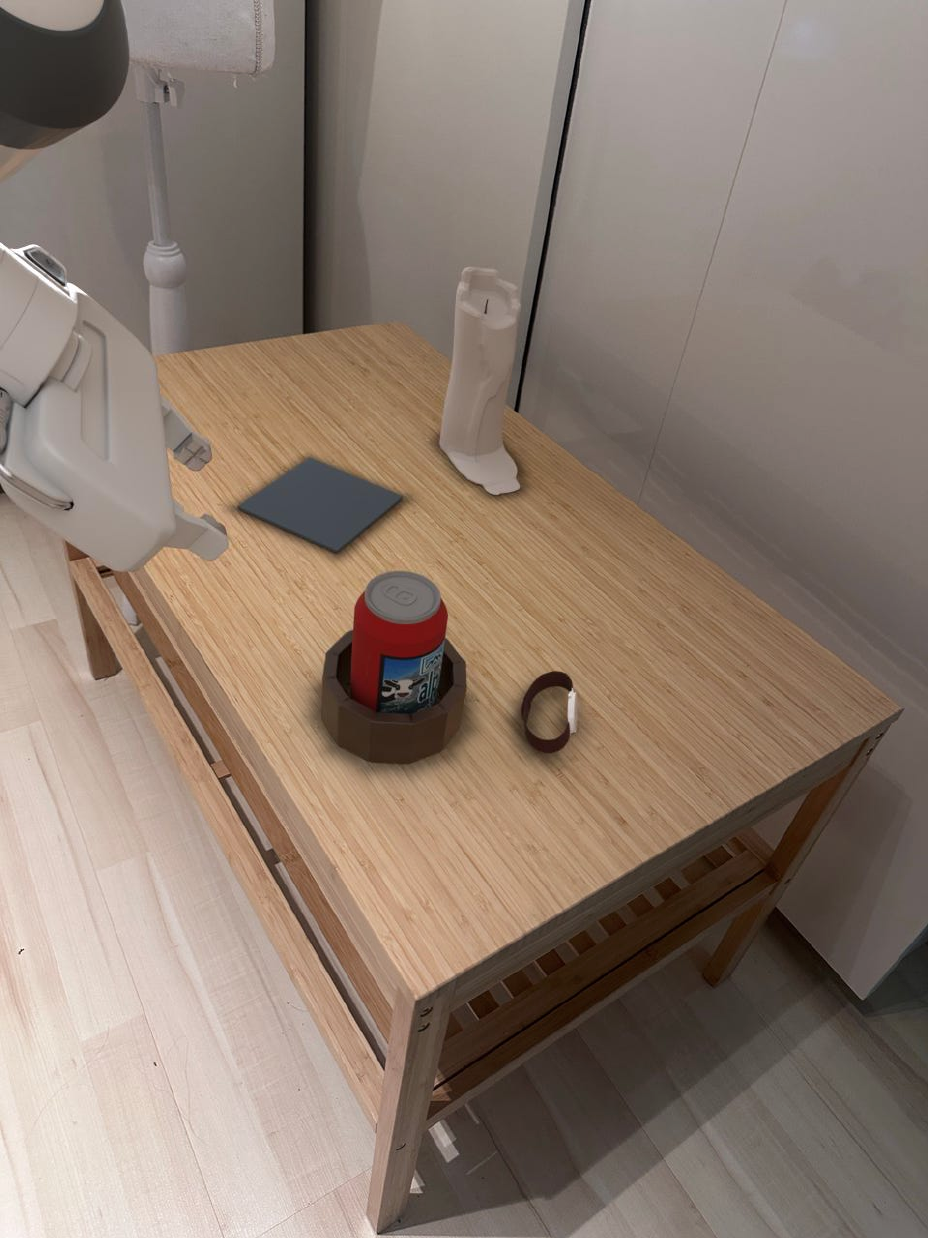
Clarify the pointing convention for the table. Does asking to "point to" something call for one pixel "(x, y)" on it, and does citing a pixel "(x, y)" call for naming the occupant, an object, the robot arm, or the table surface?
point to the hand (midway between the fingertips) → (212, 500)
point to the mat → (321, 504)
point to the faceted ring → (391, 731)
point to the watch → (566, 682)
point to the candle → (481, 380)
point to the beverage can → (398, 643)
